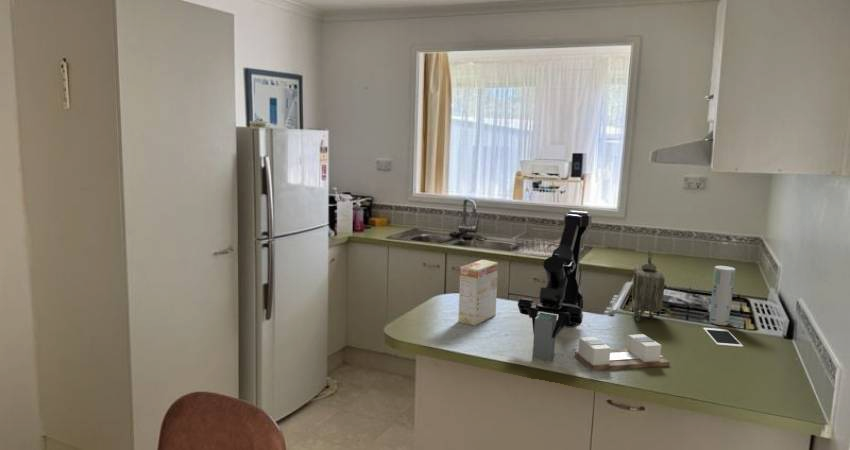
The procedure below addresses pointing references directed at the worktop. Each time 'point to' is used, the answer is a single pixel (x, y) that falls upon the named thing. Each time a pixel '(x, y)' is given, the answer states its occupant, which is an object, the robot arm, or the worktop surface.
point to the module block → (544, 336)
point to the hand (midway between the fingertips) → (543, 335)
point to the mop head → (647, 288)
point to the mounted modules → (636, 344)
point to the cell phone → (723, 337)
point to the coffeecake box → (478, 292)
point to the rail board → (623, 361)
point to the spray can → (722, 295)
